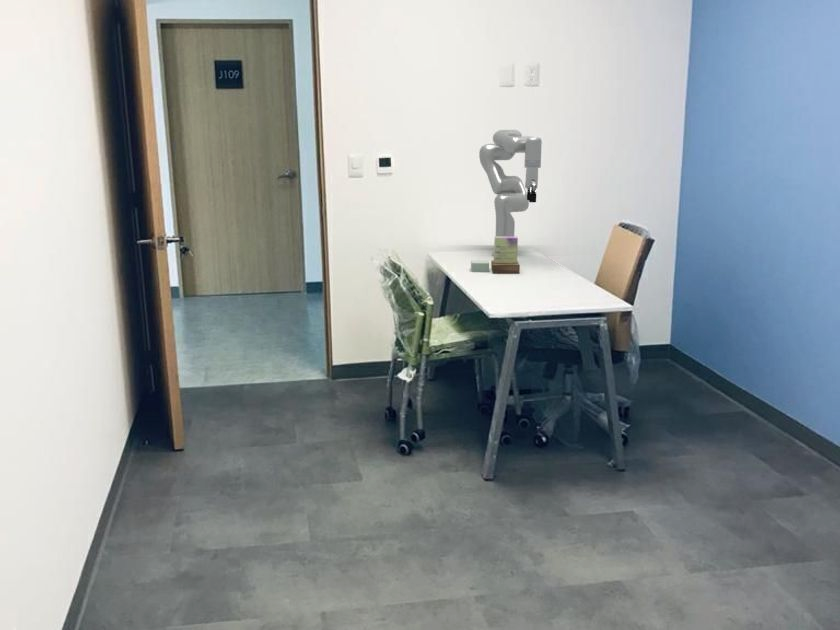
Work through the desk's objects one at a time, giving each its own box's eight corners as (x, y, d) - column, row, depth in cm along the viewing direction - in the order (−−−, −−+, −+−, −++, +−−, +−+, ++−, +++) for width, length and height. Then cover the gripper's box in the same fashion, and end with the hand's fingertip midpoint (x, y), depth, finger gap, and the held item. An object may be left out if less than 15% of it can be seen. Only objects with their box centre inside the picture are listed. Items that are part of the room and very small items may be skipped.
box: (516, 261, 370) (517, 236, 367) (517, 263, 365) (517, 237, 362) (493, 261, 371) (494, 235, 368) (494, 263, 365) (494, 237, 362)
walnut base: (491, 268, 374) (491, 260, 373) (516, 268, 374) (517, 260, 373) (492, 273, 362) (493, 264, 361) (519, 273, 362) (519, 265, 361)
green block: (470, 268, 374) (471, 260, 373) (488, 268, 374) (488, 260, 373) (471, 271, 366) (471, 263, 366) (489, 271, 366) (489, 263, 365)
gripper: (522, 163, 382) (521, 199, 386) (526, 165, 366) (525, 203, 370) (538, 163, 382) (537, 199, 386) (543, 165, 365) (541, 203, 369)
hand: (531, 201), depth 378 cm, fingers open, 9 cm apart
